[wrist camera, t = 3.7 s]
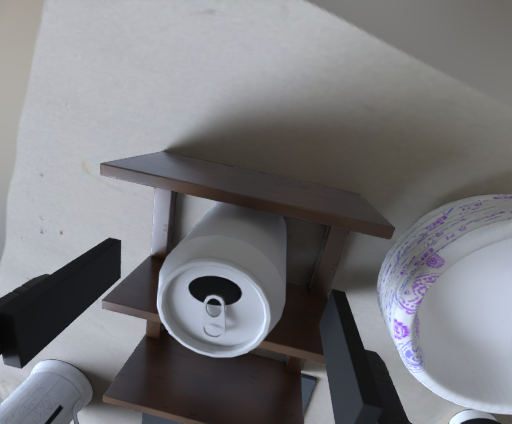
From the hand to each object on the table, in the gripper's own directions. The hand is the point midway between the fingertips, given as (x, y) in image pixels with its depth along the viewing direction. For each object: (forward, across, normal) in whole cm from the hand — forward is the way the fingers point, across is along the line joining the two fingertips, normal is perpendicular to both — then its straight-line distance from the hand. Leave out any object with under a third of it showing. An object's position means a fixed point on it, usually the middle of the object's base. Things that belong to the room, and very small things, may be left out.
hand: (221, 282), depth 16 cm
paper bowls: (+9, -19, -1) cm, 21 cm away
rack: (+9, 0, +5) cm, 11 cm away
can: (+10, 0, 0) cm, 10 cm away
